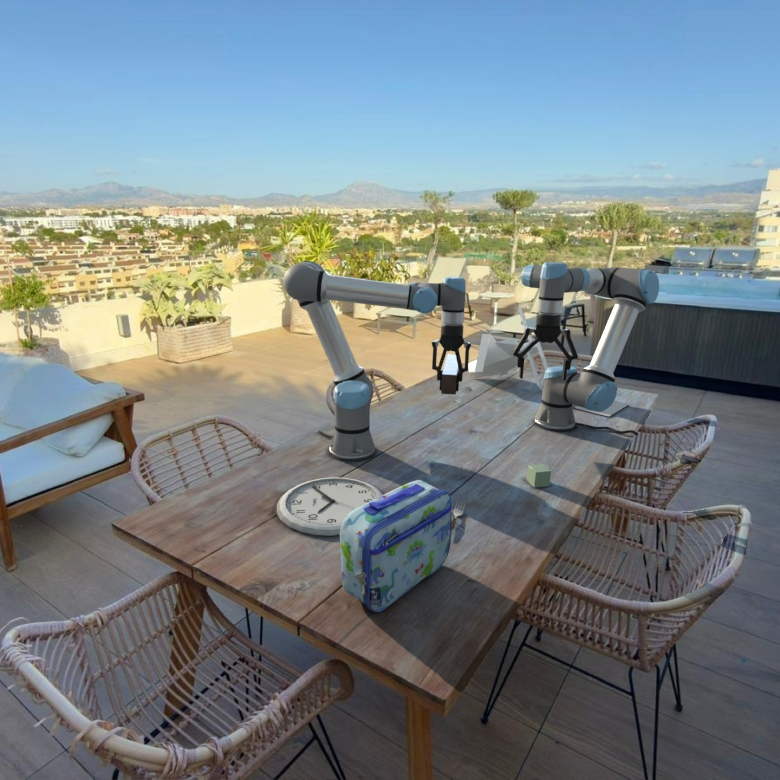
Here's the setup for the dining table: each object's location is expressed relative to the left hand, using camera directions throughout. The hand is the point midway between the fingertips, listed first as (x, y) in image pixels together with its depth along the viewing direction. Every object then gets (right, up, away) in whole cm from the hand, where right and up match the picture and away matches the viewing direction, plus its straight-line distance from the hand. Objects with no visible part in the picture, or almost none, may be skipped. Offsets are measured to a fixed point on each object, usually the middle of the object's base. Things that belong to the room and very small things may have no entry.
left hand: (449, 389), depth 183 cm
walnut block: (+2, +3, +11) cm, 11 cm away
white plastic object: (+36, +2, +73) cm, 81 cm away
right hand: (+29, +4, -13) cm, 32 cm away
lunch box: (-19, -42, -71) cm, 85 cm away
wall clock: (-37, -32, -40) cm, 63 cm away
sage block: (+24, -28, -26) cm, 45 cm away
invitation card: (+71, -7, +43) cm, 83 cm away
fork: (-4, -35, -48) cm, 59 cm away
